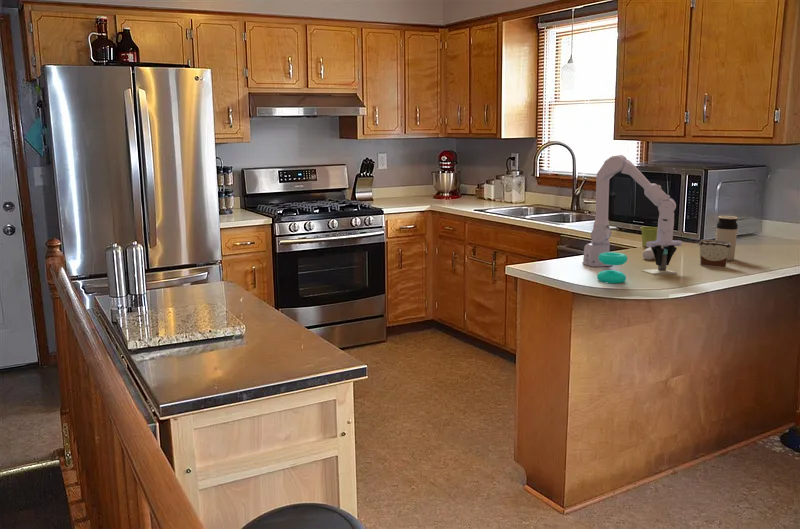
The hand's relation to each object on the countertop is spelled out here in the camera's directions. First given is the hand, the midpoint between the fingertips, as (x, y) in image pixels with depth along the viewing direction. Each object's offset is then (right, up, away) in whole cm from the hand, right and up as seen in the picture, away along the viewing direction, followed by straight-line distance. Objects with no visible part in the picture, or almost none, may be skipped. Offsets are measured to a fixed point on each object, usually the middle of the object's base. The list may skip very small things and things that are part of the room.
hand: (662, 264), depth 277 cm
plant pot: (+15, +8, +56) cm, 59 cm away
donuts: (-25, -6, -18) cm, 32 cm away
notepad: (-2, -3, -2) cm, 4 cm away
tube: (+9, +3, +32) cm, 34 cm away
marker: (0, -2, 0) cm, 2 cm away
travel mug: (+36, +2, +28) cm, 46 cm away
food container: (+26, 0, +13) cm, 29 cm away
